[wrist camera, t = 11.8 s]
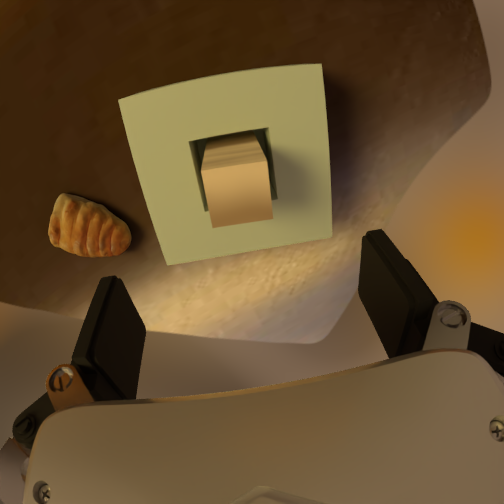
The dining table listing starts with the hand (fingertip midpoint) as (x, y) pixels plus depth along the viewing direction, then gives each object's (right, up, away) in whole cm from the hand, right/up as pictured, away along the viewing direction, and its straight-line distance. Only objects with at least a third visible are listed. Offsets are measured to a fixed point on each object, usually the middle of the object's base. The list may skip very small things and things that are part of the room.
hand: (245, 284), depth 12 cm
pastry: (-18, +5, +20) cm, 27 cm away
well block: (-2, +11, +17) cm, 20 cm away
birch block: (-1, +10, +16) cm, 19 cm away
